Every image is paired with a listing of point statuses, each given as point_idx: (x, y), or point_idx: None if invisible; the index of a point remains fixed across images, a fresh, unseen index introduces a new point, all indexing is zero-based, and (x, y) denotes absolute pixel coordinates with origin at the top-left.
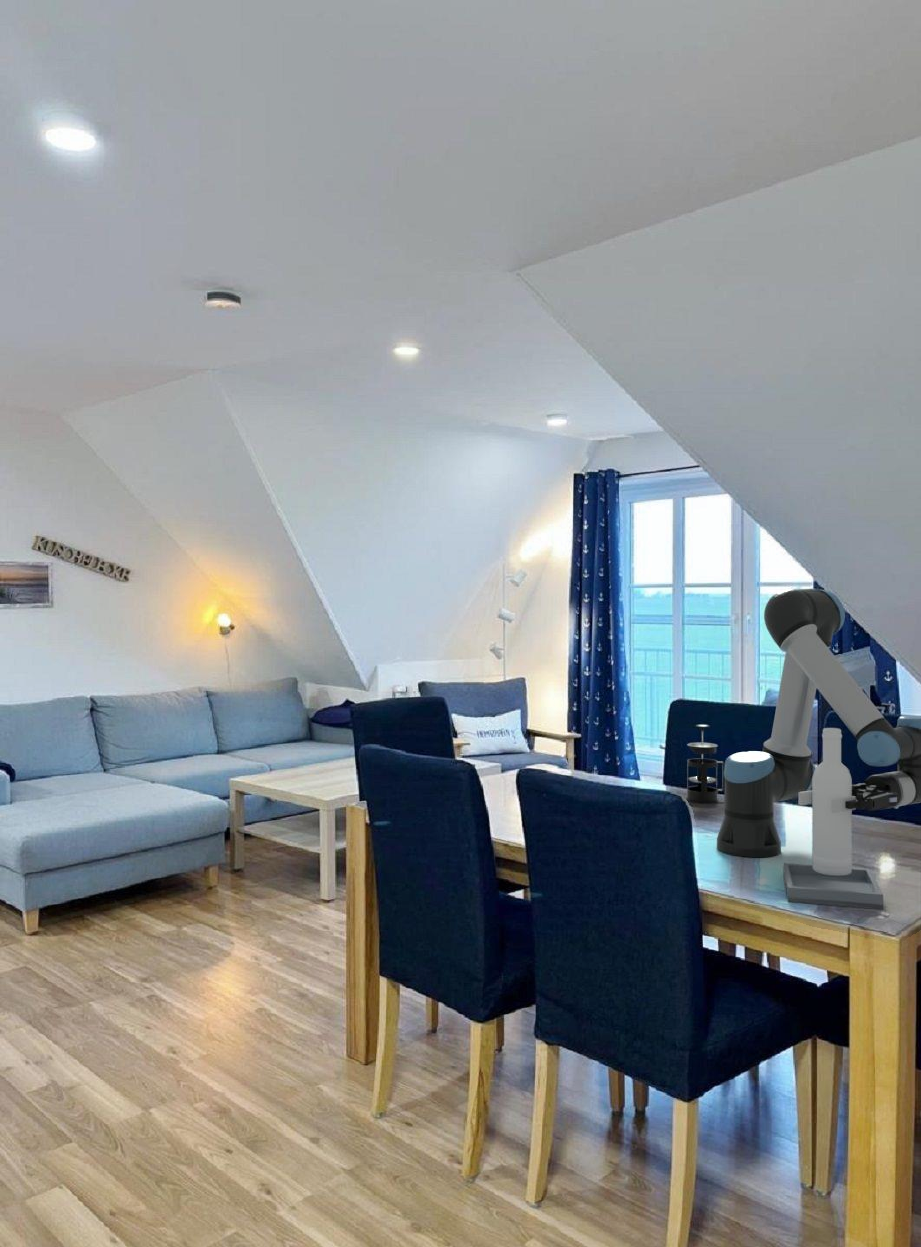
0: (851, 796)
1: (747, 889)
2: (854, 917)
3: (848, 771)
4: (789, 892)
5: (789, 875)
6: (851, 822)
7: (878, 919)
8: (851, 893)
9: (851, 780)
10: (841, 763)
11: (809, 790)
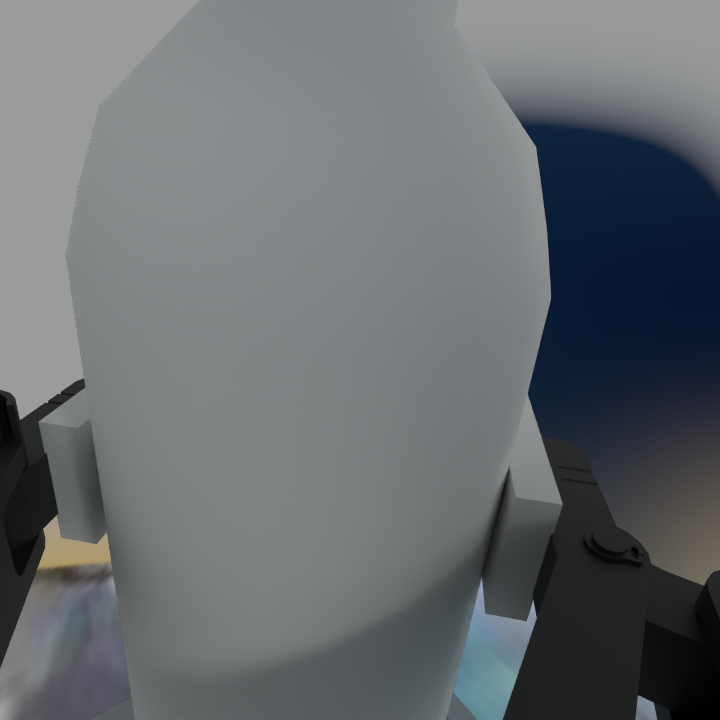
0: (86, 405)
1: (522, 633)
2: (102, 638)
3: (94, 124)
4: None
5: (454, 718)
6: (125, 655)
7: (7, 682)
8: (126, 702)
9: (66, 255)
10: (192, 8)
11: (531, 408)
